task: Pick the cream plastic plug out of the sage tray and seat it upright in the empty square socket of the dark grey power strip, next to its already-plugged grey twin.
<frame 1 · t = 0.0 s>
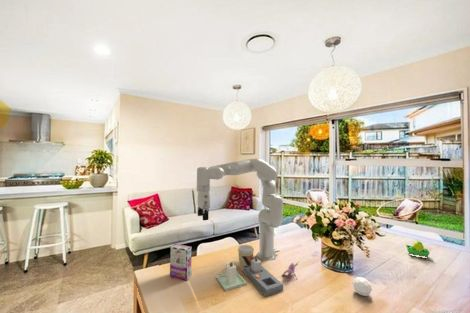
hand: (202, 217, 118), 31 cm above the table, fingers open, 9 cm apart
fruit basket: (417, 256, 140), on the table
geometric ball: (362, 294, 99), on the table
coffee cup: (245, 268, 122), on the table
grey twin plug: (256, 275, 113), point 1 cm above the table, touching power strip
power strip: (262, 282, 108), on the table
lily: (291, 277, 113), on the table
cream plug: (231, 281, 108), point 1 cm above the table, touching sage tray
candy bar box: (180, 276, 113), on the table
sage tray: (231, 282, 108), on the table
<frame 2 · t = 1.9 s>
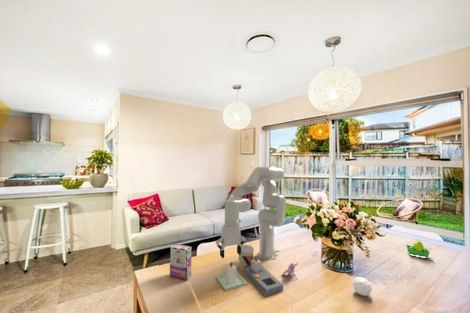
hand: (230, 255, 107), 14 cm above the table, fingers open, 9 cm apart
nothing on the table moved.
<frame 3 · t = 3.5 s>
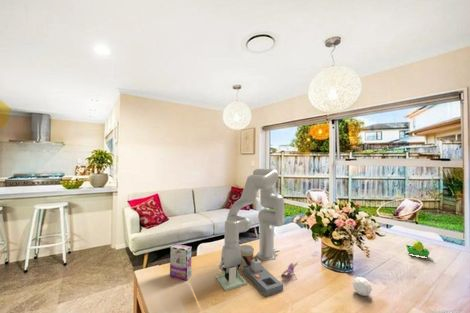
hand: (231, 277, 108), 2 cm above the table, fingers closed on cream plug, 4 cm apart
cream plug: (231, 281, 108), point 1 cm above the table, touching gripper, sage tray
everything else where it was.
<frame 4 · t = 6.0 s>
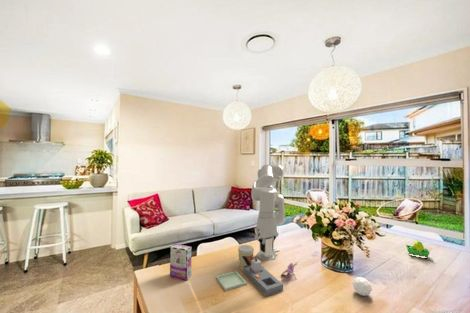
hand: (266, 250, 103), 19 cm above the table, fingers closed on cream plug, 4 cm apart
cream plug: (266, 253, 103), point 18 cm above the table, touching gripper
everything else where it was.
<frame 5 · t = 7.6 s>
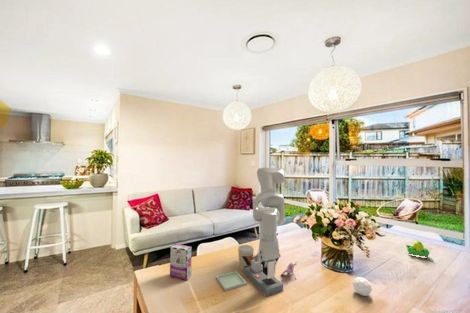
hand: (268, 272, 103), 8 cm above the table, fingers closed on cream plug, 4 cm apart
cream plug: (269, 275, 103), point 6 cm above the table, touching gripper
everything else where it was.
when the fingers open (4 cm above the table, at t = 8.7 s): cream plug drops 2 cm, resting on power strip.
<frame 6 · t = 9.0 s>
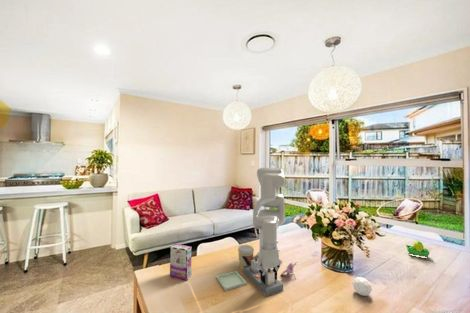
hand: (268, 279, 103), 4 cm above the table, fingers open, 6 cm apart
cream plug: (268, 287, 103), point 1 cm above the table, touching power strip
everything else where it was.
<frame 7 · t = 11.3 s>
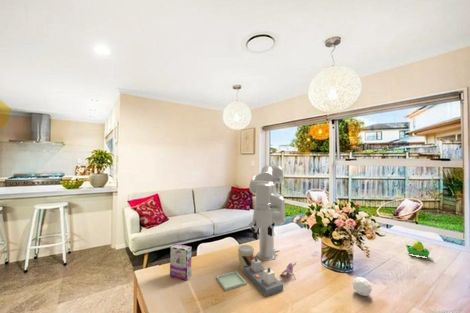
hand: (262, 237, 111), 23 cm above the table, fingers open, 9 cm apart
nothing on the table moved.
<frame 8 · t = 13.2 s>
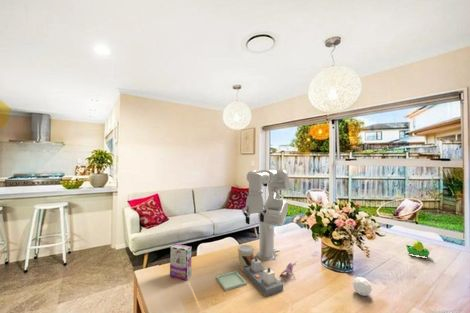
hand: (254, 222, 119), 28 cm above the table, fingers open, 9 cm apart
at the end: cream plug 0.0 cm from the target spot on the power strip, point 0.6 cm above the power strip's base; cream plug tilted 0°; the gripper is holding nothing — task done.
